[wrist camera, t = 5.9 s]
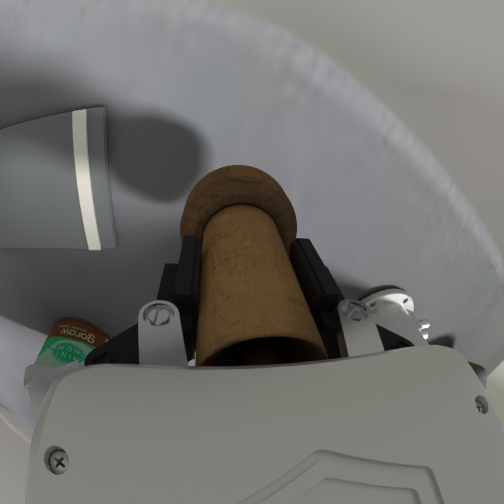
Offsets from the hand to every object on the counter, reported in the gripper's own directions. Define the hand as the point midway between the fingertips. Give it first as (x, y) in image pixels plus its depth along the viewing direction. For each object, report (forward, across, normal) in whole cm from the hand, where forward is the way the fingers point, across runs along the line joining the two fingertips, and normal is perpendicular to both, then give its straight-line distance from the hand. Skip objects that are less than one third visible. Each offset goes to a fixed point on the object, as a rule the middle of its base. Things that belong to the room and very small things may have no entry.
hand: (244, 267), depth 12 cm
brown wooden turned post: (+6, 0, 0) cm, 6 cm away
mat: (+10, +18, -1) cm, 21 cm away
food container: (+11, +18, +17) cm, 27 cm away
